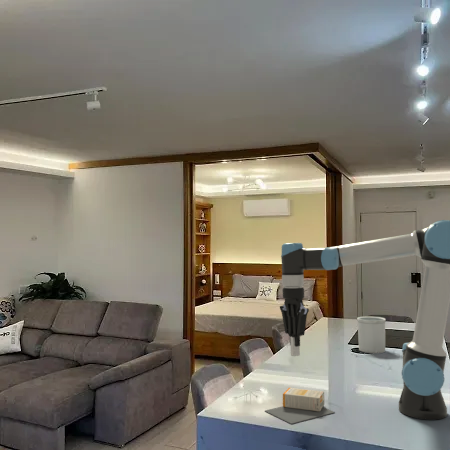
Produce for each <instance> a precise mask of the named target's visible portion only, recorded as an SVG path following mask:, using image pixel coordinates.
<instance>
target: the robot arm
mask: <svg viewBox="0 0 450 450" xmlns="http://www.w3.org/2000/svg"><path fill="white" fill-rule="evenodd" d="M280 255H281V256H280V258H281V259H280V260H281V272H282V273H281V286H282V298H283V299H284V301H283V302H284V303H283V305H280V306H279V309H280V312H281V316H282V323H283V327H284V333H285V334H286V335H288V336H289V345H290V356H291V357H298V356H301V353H300V347H301V337H302V336H305V331H306V325H307V319H308V318H307V317H308V313H309V312H310V310H309V308H308V307H305V305H304V302H303V299H304V298H305V288H304V285H305V278H304V272H305V271H309V270H310V271H313V270H314V271H331V270H332V271H333V270H337V269H338V268H340V267H344V266H353V265H358V264H359V265H360V264H366V263H373V262H380V261H387V260H392V259H401V258H407V257H412V256H416V257H418V258H420V261H421V262H422V264H423V265H424V272H423V278H422V283H421V289H420V296H419V301H418V305H417V306H418V307H417V314H416V318H415V319H416V320H415V325H414V330H413V337H412V340H411V341H410V342H404V343H403V344H402V349H401V352H402V368H401V369H402V370H401V377H402V378H401V379H402V381H403V388H402V391H401V394H400V397H399V401H398V411H399V412H400V413H402V414H403V415H405V416H408V417H411V418H415V419H421V420H429V421H431V420H433V421H435V420H442V419H445V418H447V416H448V407H447V405H446V402H445V399H444V396H443V393H442V388H443V386H444V383H445V374H444V372H445V366H446V358H447V355H448V354H447V352H446V351H445V350H444V348H443V345H444V340H445V339H444V338H445V333H446V326H447V322H448V321H447V320H448V316H449V309H450V220H449V219H442V220H437V221H435V222H433V223H432V224H430V225H429V226H428V227H425V228H419V229H415V230H413V231H412V233H408V234H403V235H397V236H396V235H395V236H390V237H384V238H379V239H372V240H366V241H361V242H354V243H349V244H344V245H343V244H342V245H336V246H329V247H314V248H313V247H311V248H310V247H309V248H306V247H304V245H303V243H302V242H290V243H289V242H287V243H286V242H285V243H283V244H282V245H281V254H280Z"/></svg>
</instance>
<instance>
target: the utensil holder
mask: <svg viewBox="0 0 450 450" xmlns="http://www.w3.org/2000/svg"><path fill="white" fill-rule="evenodd" d="M356 319H357V332H358V333H357V335H358V336H357V337H358V338H357V339H358V350H359V352H362V353H366V354H367V353H368V354H382V353H385V352H386V318H385V317H381V316H368V315H367V316H359V317H357V318H356Z"/></svg>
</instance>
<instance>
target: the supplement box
mask: <svg viewBox="0 0 450 450" xmlns="http://www.w3.org/2000/svg"><path fill="white" fill-rule="evenodd" d="M282 406H283V407H289V408H297V409H304V410H312V411H321V409H322V407H324V406H325V391H324V390H323V391H321V390H313V389H306V388H305V389H304V388H297V387H295V388H294V387H288V388H286V390H285V391H284V392H283V393H282Z"/></svg>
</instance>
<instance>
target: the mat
mask: <svg viewBox="0 0 450 450" xmlns="http://www.w3.org/2000/svg"><path fill="white" fill-rule="evenodd" d="M264 412H266V413H267V414H269V415H271V416H274V417H275V418H278V419H279V420H282V421H283V422H286V423H288V424H289V425H294V424H298V423H302V422H306V421H310V420H313V419H318V418H321V417H324V416H329V415H333V414H335V411H333V410H331V409H328V408H326V407H324V406H323V407H322V409H321V411H312V410H304V409H297V408H289V407H283V405H282V406H279V407H278V406H277V407H274V408H269V409H265V410H264Z"/></svg>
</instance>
